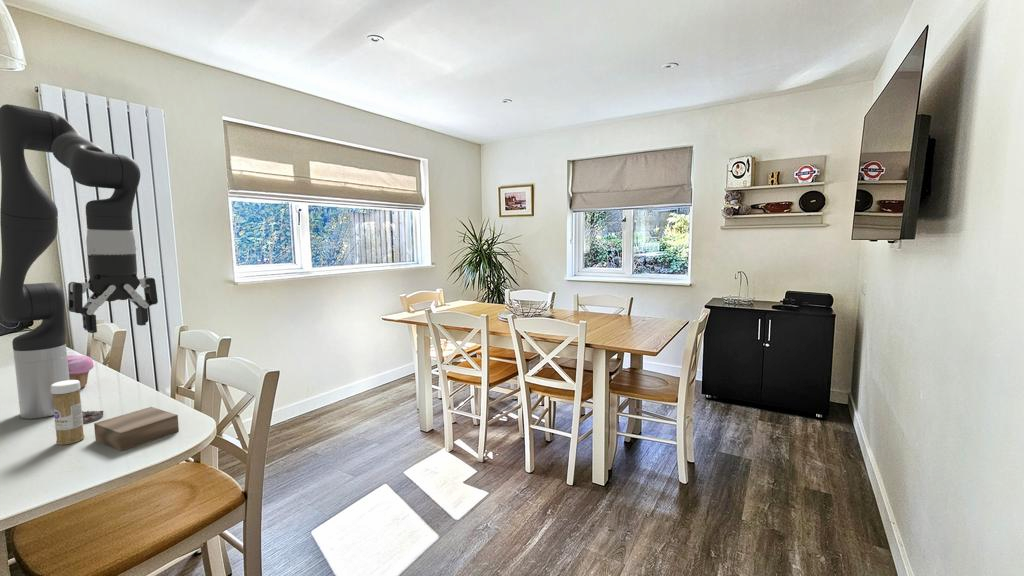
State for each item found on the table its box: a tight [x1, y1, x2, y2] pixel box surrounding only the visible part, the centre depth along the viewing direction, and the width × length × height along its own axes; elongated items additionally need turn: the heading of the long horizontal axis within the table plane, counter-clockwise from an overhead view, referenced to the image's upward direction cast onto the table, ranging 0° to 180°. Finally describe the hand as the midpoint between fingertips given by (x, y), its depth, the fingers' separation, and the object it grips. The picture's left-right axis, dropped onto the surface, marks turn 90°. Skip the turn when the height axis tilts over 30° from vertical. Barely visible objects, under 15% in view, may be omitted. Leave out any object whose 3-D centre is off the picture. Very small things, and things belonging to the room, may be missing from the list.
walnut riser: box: [93, 406, 180, 452], centre depth 102 cm, size 11×11×4 cm
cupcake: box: [67, 354, 95, 389], centre depth 132 cm, size 9×9×10 cm
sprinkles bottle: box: [51, 380, 85, 446], centre depth 98 cm, size 5×5×14 cm
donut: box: [82, 410, 104, 425], centre depth 110 cm, size 8×8×2 cm
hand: (117, 328), depth 94 cm, fingers open, 8 cm apart
